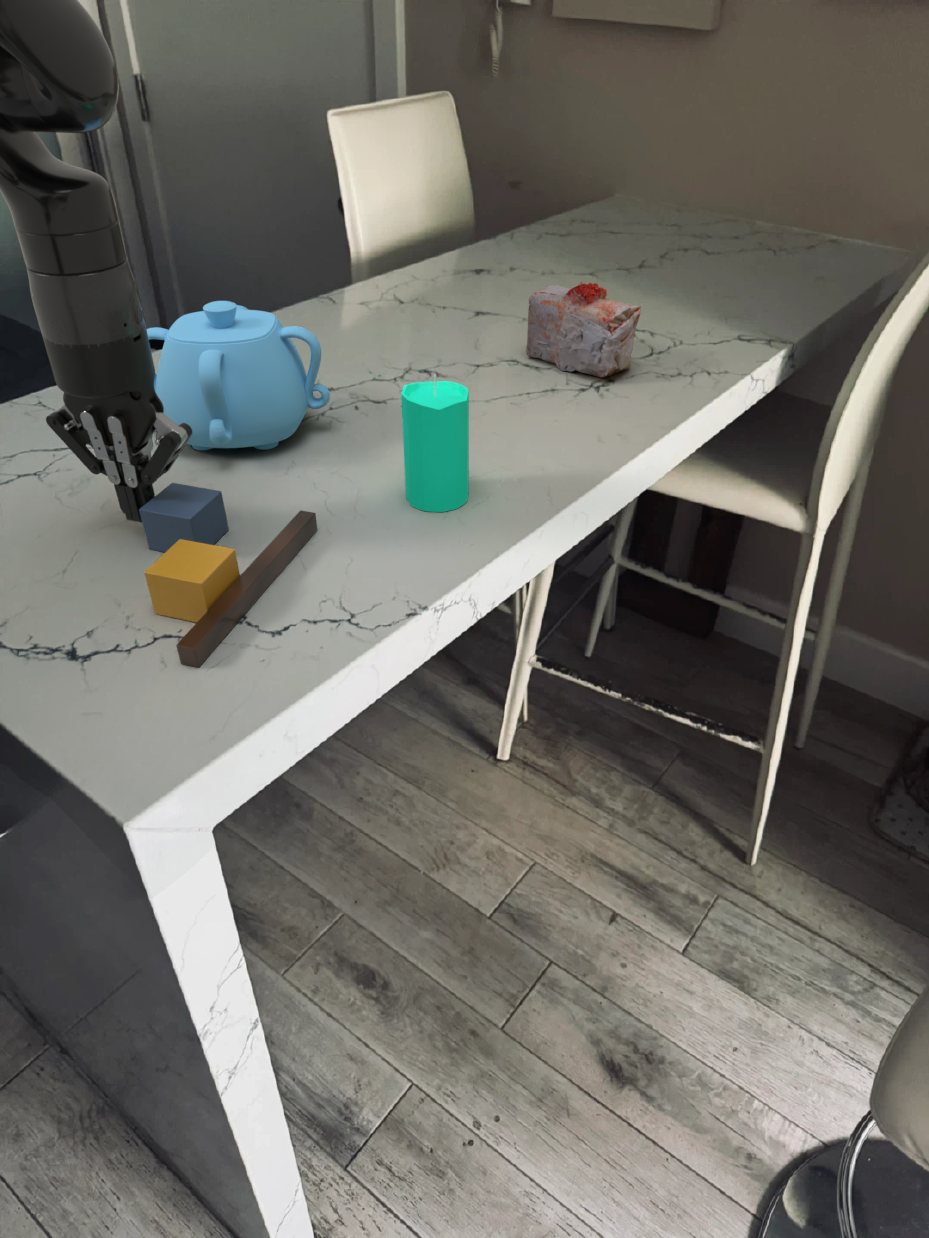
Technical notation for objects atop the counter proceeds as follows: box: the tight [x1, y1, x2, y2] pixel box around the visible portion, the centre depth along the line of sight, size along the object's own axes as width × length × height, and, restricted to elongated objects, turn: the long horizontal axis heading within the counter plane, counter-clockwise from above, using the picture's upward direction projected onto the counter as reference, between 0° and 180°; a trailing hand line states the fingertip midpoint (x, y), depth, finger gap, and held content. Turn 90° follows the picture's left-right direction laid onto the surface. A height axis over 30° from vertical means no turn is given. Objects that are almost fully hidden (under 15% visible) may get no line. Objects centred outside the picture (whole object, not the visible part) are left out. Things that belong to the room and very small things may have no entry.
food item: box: [525, 281, 642, 379], centre depth 107 cm, size 14×8×10 cm, turn 50°
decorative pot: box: [146, 300, 331, 451], centre depth 90 cm, size 16×16×14 cm
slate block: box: [139, 482, 230, 553], centre depth 76 cm, size 5×5×4 cm
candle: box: [400, 374, 470, 513], centre depth 79 cm, size 6×6×12 cm
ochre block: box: [143, 539, 241, 623], centre depth 68 cm, size 5×5×4 cm
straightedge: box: [176, 509, 318, 669], centre depth 70 cm, size 20×2×2 cm, turn 162°
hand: (141, 517), depth 77 cm, fingers closed
